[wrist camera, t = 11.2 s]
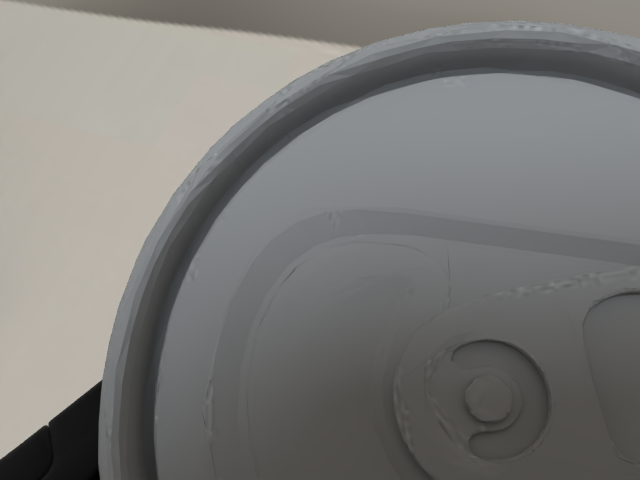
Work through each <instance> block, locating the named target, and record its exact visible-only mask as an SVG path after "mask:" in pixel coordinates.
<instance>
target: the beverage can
mask: <svg viewBox="0 0 640 480" xmlns="http://www.w3.org/2000/svg"><path fill="white" fill-rule="evenodd" d="M98 465H99V473H100V480H640V39H637V38H634V37H631V36H627V35H624V34H619V33H614V32H608V31H602V30H597V29H592V28H586V27H580V26H575V25H569V24H558V23H543V22H528V21H494V22H472V23H464V24H457V25H451V26H443V27H436V28H429V29H425V30H420V31H417V32H413V33H410V34H406V35H402V36H398V37H395V38H391V39H387V40H383V41H379V42H376V43H373V44H371V45H369V46H366V47H363V48H361V49H358V50H356V51H353V52H351V53H348V54H346V55H344V56H341V57H339V58H336V59H334V60H331V61H329V62H327V63H325V64H324V65H322V66H320V67H318V68H316V69H314V70H312V71H311V72H309V73H307V74H305V75H303V76H301V77H299V78H298V79H296V80H294V81H292V82H291V83H289V84H288V85H287V86H285V87H284V88H282V89H281V90H280V91H278V92H277V93H275V94H274V95H273V96H271V97H270V98H268V99H267V100H266V101H264V102H263V103H261V104H260V105H259V106H258V107H256V108H255V109H254V110H252V111H251V112H250V113H249V114H247V115H246V116H245V117H243V118H242V119H241V120H240V121H238V122H237V123H236V124H235V125H234V126H233V127H232V128H231V129H230V130H229V131H228V132H227V133H226V134H225V135H224V136H223V137H222V138H221V139H220V140H219V141H218V142H217V143H215V144H214V145H213V146H212V147H211V148H210V150H209V151H208V152H207V153H206V154H205V156H204V157H203V158H202V159H201V160H200V162H199V163H198V164H197V165H196V166H195V168H194V169H193V170H192V171H191V173H190V174H189V175H188V176H187V178H186V179H185V180H184V181H183V183H182V184H181V185H180V186H179V188H178V189H177V190H176V191H175V193H174V194H173V196H172V197H171V199H170V201H169V202H168V204H167V206H166V207H165V209H164V210H163V212H162V214H161V215H160V217H159V219H158V220H157V222H156V224H155V225H154V227H153V229H152V230H151V232H150V233H149V235H148V237H147V238H146V240H145V242H144V245H143V247H142V249H141V251H140V253H139V256H138V258H137V260H136V262H135V265H134V268H133V270H132V273H131V275H130V278H129V281H128V283H127V286H126V289H125V291H124V294H123V296H122V299H121V302H120V304H119V307H118V311H117V315H116V319H115V322H114V326H113V330H112V334H111V338H110V342H109V346H108V352H107V357H106V363H105V369H104V374H103V380H102V389H101V401H100V413H99V438H98Z"/></svg>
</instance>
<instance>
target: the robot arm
mask: <svg viewBox="0 0 640 480" xmlns="http://www.w3.org/2000/svg"><path fill="white" fill-rule="evenodd" d="M101 389H102V380H101V381H100V382H99V383H98V384H96V385H95V386H94V387H92V388H91V389H90V390H89V391H87V392H86V393H85V394H84V395H82V396H81V397H80V398H79V399H77V400H76V401H75V402H74V403H72V404H71V405H70V406H68V407H67V408H66V409H65V410H63V411H62V412H61V413H60V414H58V415H57V416H56V417H55V418H53V419H52V420H51V421H50V422H49V427H48V426H47V425H45V426H43V427H42V428H41V429H39V430H38V431H37V432H36V433H34V434H33V435H32V436H30V437H29V438H28V439H27V440H25V441H24V442H23V443H22V444H20V445H19V446H18V447H16V448H15V449H14V450H12V451H11V452H10V453H8V454H7V455H6V456H5V457H3V458H2V459H1V460H0V480H100V473H99V465H98V438H99V413H100V401H101Z"/></svg>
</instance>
